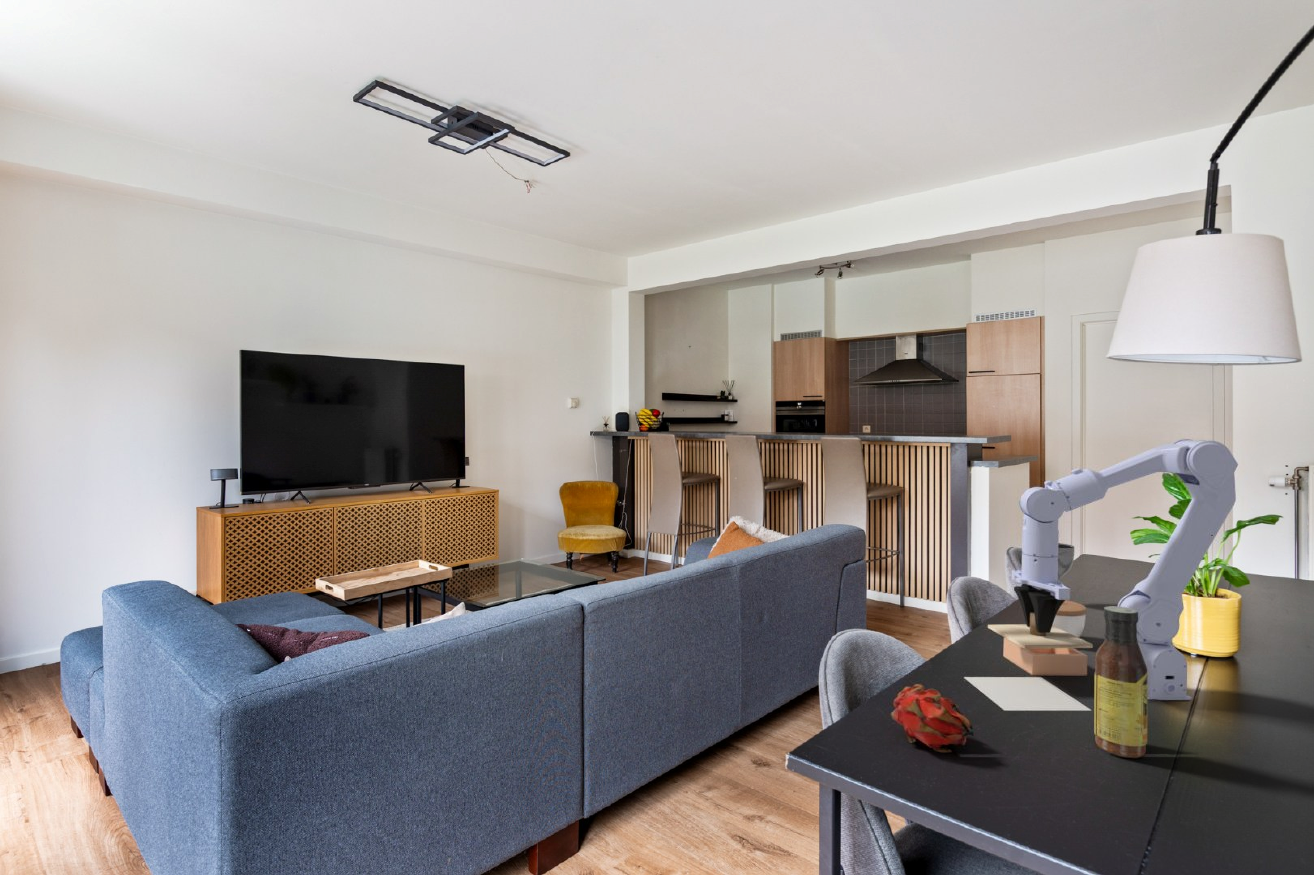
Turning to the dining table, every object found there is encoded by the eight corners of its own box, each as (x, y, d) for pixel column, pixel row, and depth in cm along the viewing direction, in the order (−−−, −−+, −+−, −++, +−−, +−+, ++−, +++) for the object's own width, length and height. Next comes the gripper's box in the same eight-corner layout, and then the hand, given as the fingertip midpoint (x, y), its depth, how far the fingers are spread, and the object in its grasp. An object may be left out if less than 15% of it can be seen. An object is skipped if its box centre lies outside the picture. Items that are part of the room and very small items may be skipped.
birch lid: (1092, 647, 119) (1093, 623, 119) (1024, 648, 118) (1025, 624, 118) (1049, 627, 131) (1049, 605, 131) (987, 627, 130) (988, 605, 130)
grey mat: (1091, 712, 110) (1091, 710, 110) (1004, 712, 109) (1004, 710, 109) (1040, 679, 124) (1040, 677, 124) (963, 679, 123) (963, 677, 123)
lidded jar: (1069, 633, 151) (1070, 590, 150) (1095, 649, 140) (1097, 604, 140) (1018, 631, 152) (1019, 589, 152) (1040, 647, 141) (1041, 602, 141)
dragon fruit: (891, 734, 105) (966, 778, 96) (868, 716, 100) (946, 760, 91) (916, 685, 107) (992, 723, 98) (895, 664, 102) (974, 702, 93)
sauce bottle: (1155, 762, 94) (1160, 617, 93) (1104, 758, 95) (1108, 614, 94) (1132, 740, 100) (1136, 605, 100) (1085, 736, 101) (1088, 602, 101)
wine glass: (1040, 606, 172) (1042, 547, 172) (1033, 598, 180) (1035, 541, 179) (1077, 609, 170) (1078, 549, 169) (1068, 601, 177) (1069, 543, 177)
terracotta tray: (1086, 677, 125) (1087, 655, 125) (1032, 677, 125) (1032, 655, 124) (1053, 658, 135) (1054, 637, 135) (1003, 658, 135) (1003, 637, 134)
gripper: (996, 546, 131) (995, 617, 131) (1042, 562, 117) (1040, 642, 117) (1033, 546, 131) (1031, 617, 132) (1082, 562, 117) (1081, 642, 117)
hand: (1038, 629), depth 124 cm, fingers closed on birch lid, 3 cm apart
